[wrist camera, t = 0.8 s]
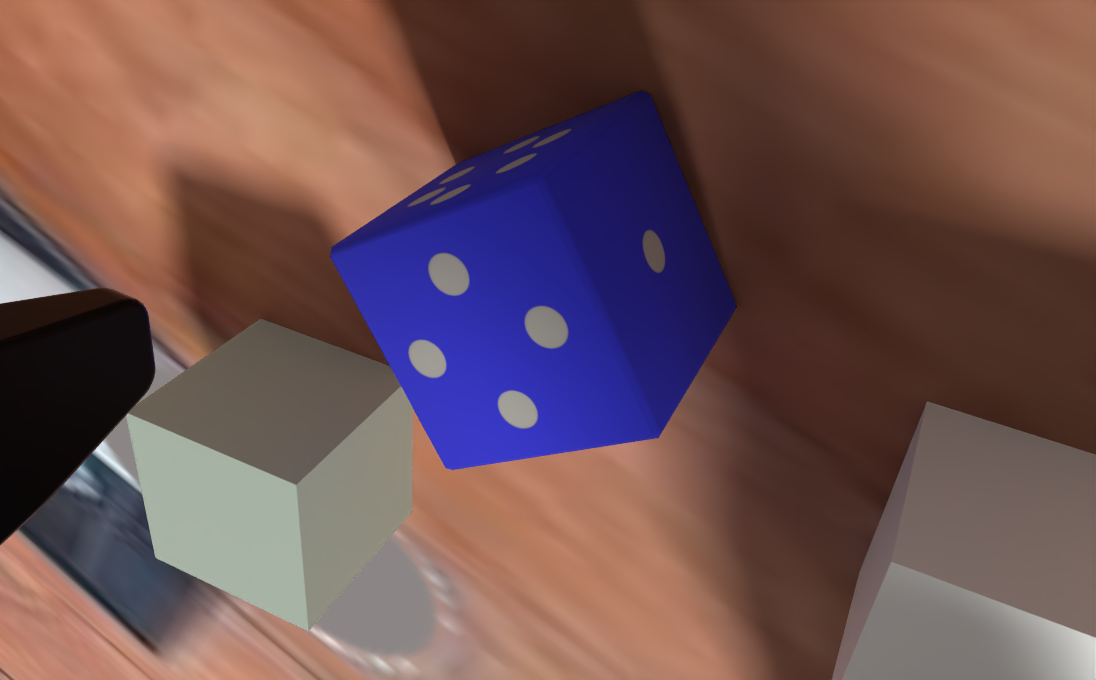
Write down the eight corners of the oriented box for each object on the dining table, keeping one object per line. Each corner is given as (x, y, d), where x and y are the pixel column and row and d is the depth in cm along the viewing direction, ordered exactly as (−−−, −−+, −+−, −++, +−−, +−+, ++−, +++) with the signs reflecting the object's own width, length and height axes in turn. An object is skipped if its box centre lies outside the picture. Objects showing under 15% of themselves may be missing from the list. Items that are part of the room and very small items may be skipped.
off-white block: (1093, 659, 20) (1099, 870, 16) (859, 570, 22) (815, 744, 18) (1204, 486, 17) (1242, 692, 14) (927, 399, 19) (891, 561, 15)
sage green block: (413, 510, 28) (308, 631, 24) (275, 452, 29) (155, 557, 25) (415, 372, 25) (296, 484, 21) (262, 317, 26) (125, 412, 23)
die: (741, 309, 20) (663, 441, 16) (549, 353, 23) (443, 474, 19) (650, 85, 18) (540, 172, 14) (457, 162, 21) (321, 252, 17)
